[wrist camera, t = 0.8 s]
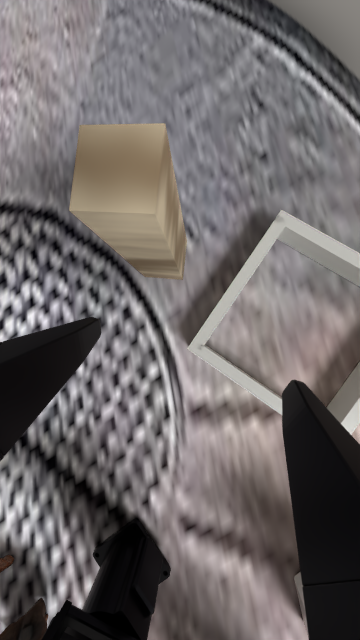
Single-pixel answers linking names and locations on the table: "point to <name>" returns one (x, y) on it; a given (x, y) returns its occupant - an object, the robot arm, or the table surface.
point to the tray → (355, 394)
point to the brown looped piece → (25, 617)
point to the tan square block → (131, 195)
